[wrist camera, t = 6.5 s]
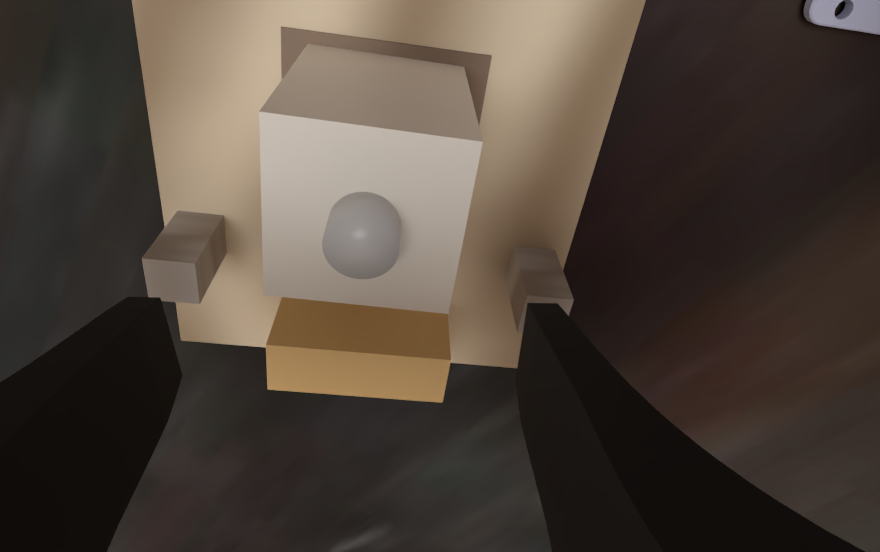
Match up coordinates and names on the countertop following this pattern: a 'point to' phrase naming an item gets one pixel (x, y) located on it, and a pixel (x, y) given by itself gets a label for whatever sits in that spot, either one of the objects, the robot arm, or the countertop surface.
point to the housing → (367, 179)
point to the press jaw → (358, 351)
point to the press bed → (401, 35)
